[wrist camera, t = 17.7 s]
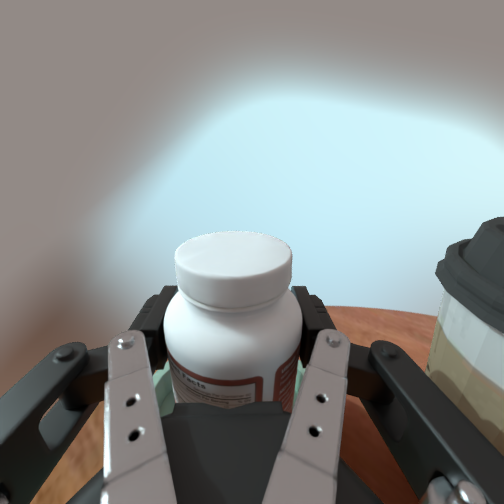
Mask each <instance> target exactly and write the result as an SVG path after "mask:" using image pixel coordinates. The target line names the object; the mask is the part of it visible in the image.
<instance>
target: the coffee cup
mask: <svg viewBox="0 0 504 504" xmlns="http://www.w3.org/2000/svg"><path fill="white" fill-rule="evenodd" d="M435 274H436V276H437V277H438V279H439V280H440V282H441V284H442V285H443V287H444V291H443V296H442V300H441V304H440V309H439V313H438V318H437V322H436V326H435V331H434V335H433V340H432V344H431V348H430V353H429V357H428V362H427V366H426V371H425V374H426V375H427V376H428V377H429V378H430V379H431V380H432V381H433V382H434V383H435V384H436V385H437V386H438V387H439V388H440V390H441V391H442V392H443V393H444V394H445V395H446V396H447V397H448V398H449V399H450V400H451V401H452V402H453V403H454V404H455V405H456V406H457V408H458V409H459V410H460V411H461V412H462V413H463V414H464V415H465V416H466V417H467V418H468V419H469V420H470V421H471V422H472V423H473V424H474V425H475V427H476V428H477V429H478V430H479V431H480V432H481V433H482V434H483V435H484V436H485V437H486V438H487V439H488V440H489V441H490V442H491V443H492V445H493V446H494V447H495V448H496V449H497V450H498V451H499V452H500V453H501V454H502V455H503V456H504V217H497V218H494V219H491V220H489V221H486V222H483V223H482V225H481V226H480V228H479V229H478V231H477V232H476V234H475V235H474V237H473V238H472V239H465V240H462V241H459V242H457V243H454V244H452V245H450V246H449V247H448V248H447V251H446V255H445V259H443V260H441V261H439V262H438V265H437V269H436V272H435Z"/></svg>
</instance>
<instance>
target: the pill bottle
mask: <svg viewBox="0 0 504 504" xmlns="http://www.w3.org/2000/svg"><path fill="white" fill-rule="evenodd" d="M175 269H176V277H177V283H178V290H179V291H178V292H177V293H176V295H175V296H174V297H173V298H172V300H171V301H170V303H169V305H168V307H167V310H166V313H165V317H164V335H165V344H166V349H167V355H168V361H169V367H170V373H171V379H172V386H173V392H174V398H175V403H205V404H209V405H213V406H217V407H221V408H225V409H231V408H235V407H238V406H242V405H245V404H249V403H252V402H261V401H282V407H283V410H284V411H287V412H290V413H292V408H293V399H294V393H295V383H296V376H297V369H298V360H299V352H300V345H301V336H302V312H301V308H300V305H299V303H298V301H297V299H296V297H295V296H294V294H293V293H292V292H291V291H290V290H289V289H288V286H289V284H290V282H291V278H292V251H291V249H290V247H289V246H288V245H287V244H286V243H285V242H283V241H282V240H280V239H278V238H275V237H273V236H269V235H266V234H262V233H256V232H245V231H225V232H215V233H209V234H204V235H201V236H197V237H195V238H192V239H190V240H188V241H186V242H184V243H183V244H182V245H180V246H179V247H178V249H177V250H176V252H175Z"/></svg>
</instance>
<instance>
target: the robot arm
mask: <svg viewBox="0 0 504 504" xmlns="http://www.w3.org/2000/svg"><path fill="white" fill-rule="evenodd" d="M178 291H179V290H178V286H164V287H163V289H162V291H161V293H160V294H159V295H153V296H152V297H151V298H149V299H148V300H147V301H146V303H145V304H144V306H143V308H142V309H141V310H140V313H139V314H138V315H137V317H136V318H135V320H134V322H133V323H132V325H131V326H130V328H129V329H128V331H125V332H122V333H120V334H118V335H117V336H115V337H114V338H113V339H112V340H111V341H110V343H109V345H108V346H104V347H100V348H96V349H92V350H87V348H86V345H85V344H83V343H81V342H72V343H68V344H65V345H62V346H60V347H58V348H56V349H55V350H53V351H52V352H50V353H49V354H48V355H47V356H46V357H45V358H44V359H43V360H41V361H40V362H39V363H38V364H37V365H36V366H35V367H34V368H33V369H32V370H30V371H29V372H28V373H27V374H26V375H25V376H24V377H23V378H22V379H21V380H19V381H18V382H17V383H16V384H15V385H14V386H13V387H12V388H11V389H9V391H7V392H6V393H5V394H4V395H3V396H2V397H1V398H0V504H30V502H31V501H32V499H33V498H34V496H35V495H36V493H37V492H38V491H39V489H40V488H41V486H42V485H43V483H44V482H45V480H46V479H47V478H48V476H49V475H50V473H51V472H52V470H53V469H54V467H55V466H56V465H57V463H58V462H59V460H60V459H61V457H62V456H63V454H64V453H65V451H66V450H67V449H68V447H69V446H70V444H71V443H72V441H73V440H74V438H75V437H76V436H77V434H78V433H79V431H80V430H81V428H82V427H83V425H84V424H85V423H86V421H87V420H88V418H89V417H90V415H91V414H92V412H93V411H94V409H95V408H96V407H97V405H98V404H99V402H100V401H103V400H104V467H103V468H102V469H101V470H100V471H99V472H98V473H97V474H96V475H95V476H94V477H92V478H91V479H90V480H89V481H88V482H87V483H86V484H85V485H84V486H83V487H82V488H81V489H80V490H79V491H78V492H77V493H76V494H75V495H74V496H73V497H72V498H71V499H70V500H69V501H68V502H67V503H66V504H384V503H383V502H382V501H381V500H380V499H379V498H378V497H377V496H376V495H375V494H374V492H373V491H372V490H371V489H370V488H369V487H368V486H367V485H366V484H365V483H364V482H363V481H362V480H361V479H360V478H359V476H358V475H357V474H356V473H355V472H354V471H353V470H352V469H351V468H350V467H349V466H348V465H347V464H346V463H345V461H344V460H343V459H342V458H341V457H340V456H339V454H340V445H341V436H342V427H343V418H344V409H345V400H346V394H348V395H352V396H355V397H359V398H360V400H361V402H362V404H363V406H364V407H365V409H366V411H367V412H368V414H369V416H370V417H371V419H372V421H373V422H374V424H375V426H376V428H377V429H378V431H379V433H380V434H381V436H382V438H383V439H384V441H385V443H386V445H387V446H388V448H389V450H390V451H391V453H392V455H393V456H394V458H395V460H396V462H397V463H398V465H399V467H400V468H401V470H402V472H403V473H404V475H405V477H406V479H407V480H408V482H409V484H410V485H411V487H412V489H413V490H414V492H415V494H416V496H417V497H418V499H419V503H418V504H504V456H503V455H502V454H501V453H500V452H499V451H498V450H497V449H496V448H495V447H494V446H493V445H492V443H491V442H490V441H489V440H488V439H487V438H486V437H485V436H484V435H483V434H482V433H481V432H480V431H479V430H478V429H477V428H476V427H475V425H474V424H473V423H472V422H471V421H470V420H469V419H468V418H467V417H466V416H465V415H464V414H463V413H462V412H461V411H460V410H459V409H458V408H457V406H456V405H455V404H454V403H453V402H452V401H451V400H450V399H449V398H448V397H447V396H446V395H445V394H444V393H443V392H442V391H441V390H440V388H439V387H438V386H437V385H436V384H435V383H434V382H433V381H432V380H431V379H430V378H429V377H428V376H427V375H426V374H425V373H424V372H423V370H422V369H421V368H420V367H419V366H418V365H417V364H416V363H415V362H414V361H413V360H412V359H411V358H410V357H409V356H408V355H407V354H406V352H405V351H404V350H403V349H401V348H400V347H399V346H397V345H395V344H393V343H391V342H388V341H383V340H378V341H375V342H373V343H372V344H371V347H370V348H368V347H364V346H360V345H356V344H353V343H350V340H349V339H348V337H347V336H346V335H345V334H343V333H342V332H340V331H337V329H336V327H335V326H334V324H333V322H332V320H331V318H330V316H329V314H328V313H327V310H326V308H325V306H324V304H323V302H322V300H321V299H319V298H318V297H317V296H316V295H309V293H308V291H307V288H306V286H292V287H291V292H292V293H293V294H294V296H295V297H296V299H297V301H298V303H299V305H300V308H301V312H302V336H301V345H300V352H299V356H300V360H301V364H302V367H303V368H306V369H305V372H304V375H303V379H302V382H301V385H300V388H299V391H298V395H297V398H296V401H295V404H294V407H293V411H292V413H290V412H287V411H284V410H283V407H282V401H261V402H252V403H249V404H245V405H242V406H238V407H235V408H231V409H225V408H221V407H217V406H213V405H209V404H205V403H175V405H174V409H173V413H170V414H167V415H164V416H162V417H160V412H159V407H158V402H157V397H156V392H155V387H154V382H153V375H154V372H155V370H164V367H165V364H166V361H167V359H168V355H167V349H166V344H165V335H164V317H165V313H166V310H167V307H168V305H169V303H170V301H171V300H172V298H173V297H174V296H175V295H176V293H177V292H178ZM57 398H59V401H58V402H57V403H56V404H55V405H54V406H53V407H52V409H51V410H50V411H49V412H48V414H47V415H46V416H45V417H44V418H43V419H42V420H41V418H42V416H43V415H44V413H45V412H46V411H47V410H48V409H49V408H50V406H51V405H52V404H53V403H54V402H55V401H56V399H57ZM40 420H41V421H40Z"/></svg>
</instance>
